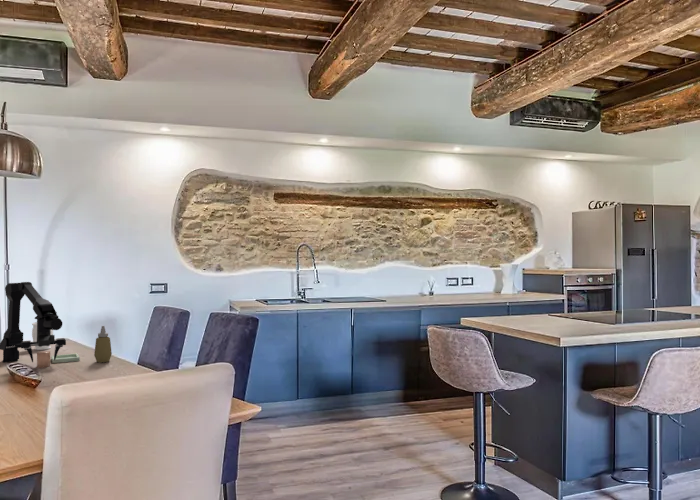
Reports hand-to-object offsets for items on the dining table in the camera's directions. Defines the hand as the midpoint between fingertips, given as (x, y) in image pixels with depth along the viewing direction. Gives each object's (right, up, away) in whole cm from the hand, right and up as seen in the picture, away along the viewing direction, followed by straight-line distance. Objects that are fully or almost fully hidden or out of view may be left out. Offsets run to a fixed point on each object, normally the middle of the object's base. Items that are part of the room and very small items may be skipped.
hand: (43, 361), depth 260 cm
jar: (-27, -3, +47) cm, 54 cm away
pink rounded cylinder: (0, -3, 0) cm, 3 cm away
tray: (+2, -3, +15) cm, 16 cm away
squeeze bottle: (+23, -3, +12) cm, 26 cm away
